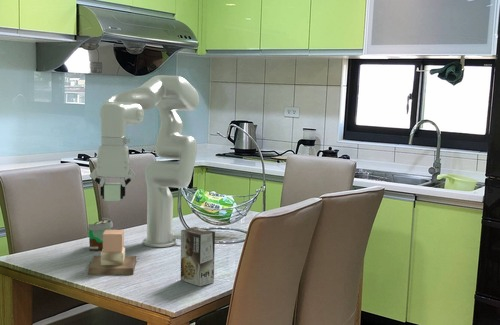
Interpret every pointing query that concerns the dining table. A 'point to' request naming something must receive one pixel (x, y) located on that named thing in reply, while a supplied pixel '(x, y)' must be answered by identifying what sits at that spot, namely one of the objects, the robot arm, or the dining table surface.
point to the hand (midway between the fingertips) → (113, 197)
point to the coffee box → (197, 256)
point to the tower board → (112, 266)
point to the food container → (98, 233)
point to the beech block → (112, 258)
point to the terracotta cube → (113, 240)
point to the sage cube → (112, 191)
